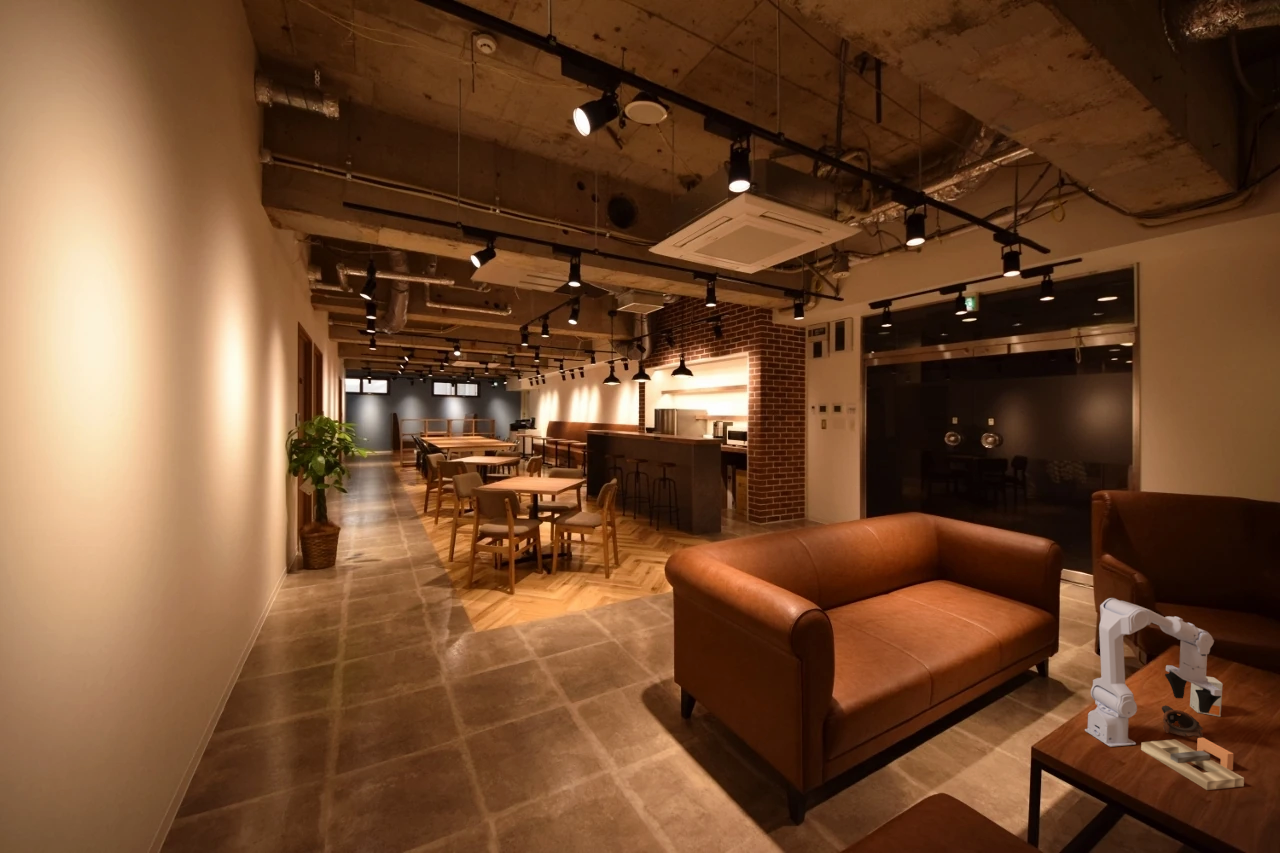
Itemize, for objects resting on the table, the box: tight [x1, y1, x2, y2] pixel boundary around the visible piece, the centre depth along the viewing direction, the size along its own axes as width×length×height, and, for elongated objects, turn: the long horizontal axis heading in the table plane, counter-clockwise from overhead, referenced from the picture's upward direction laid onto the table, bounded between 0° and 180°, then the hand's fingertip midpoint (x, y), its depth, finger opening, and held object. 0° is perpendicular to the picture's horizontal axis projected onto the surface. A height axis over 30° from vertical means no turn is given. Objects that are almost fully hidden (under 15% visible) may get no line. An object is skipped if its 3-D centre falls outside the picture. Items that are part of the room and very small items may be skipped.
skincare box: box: [1189, 675, 1224, 718], centre depth 169 cm, size 6×4×12 cm
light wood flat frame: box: [1140, 739, 1245, 791], centre depth 143 cm, size 12×16×4 cm
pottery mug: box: [1161, 705, 1204, 738], centre depth 159 cm, size 12×10×8 cm
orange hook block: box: [1196, 737, 1234, 771], centre depth 145 cm, size 2×7×5 cm, turn 7°
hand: (1191, 704), depth 157 cm, fingers open, 7 cm apart
